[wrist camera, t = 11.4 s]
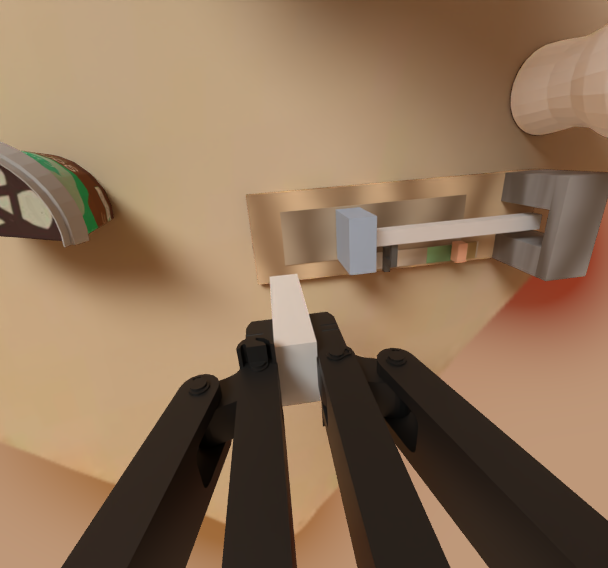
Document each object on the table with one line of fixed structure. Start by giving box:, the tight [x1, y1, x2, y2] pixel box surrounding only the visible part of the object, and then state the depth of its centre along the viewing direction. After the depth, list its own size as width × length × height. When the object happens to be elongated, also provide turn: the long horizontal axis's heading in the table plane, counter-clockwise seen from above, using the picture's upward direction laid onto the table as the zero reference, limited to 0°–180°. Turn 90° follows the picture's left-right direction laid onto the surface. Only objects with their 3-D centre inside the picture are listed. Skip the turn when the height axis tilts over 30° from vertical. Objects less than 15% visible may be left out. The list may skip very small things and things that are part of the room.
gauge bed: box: [246, 169, 608, 285], centre depth 30 cm, size 30×9×8 cm, turn 95°
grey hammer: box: [336, 207, 542, 275], centre depth 31 cm, size 19×7×5 cm, turn 95°
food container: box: [0, 142, 114, 247], centre depth 23 cm, size 12×6×10 cm, turn 83°
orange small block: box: [450, 241, 468, 263], centre depth 33 cm, size 1×2×1 cm, turn 5°
